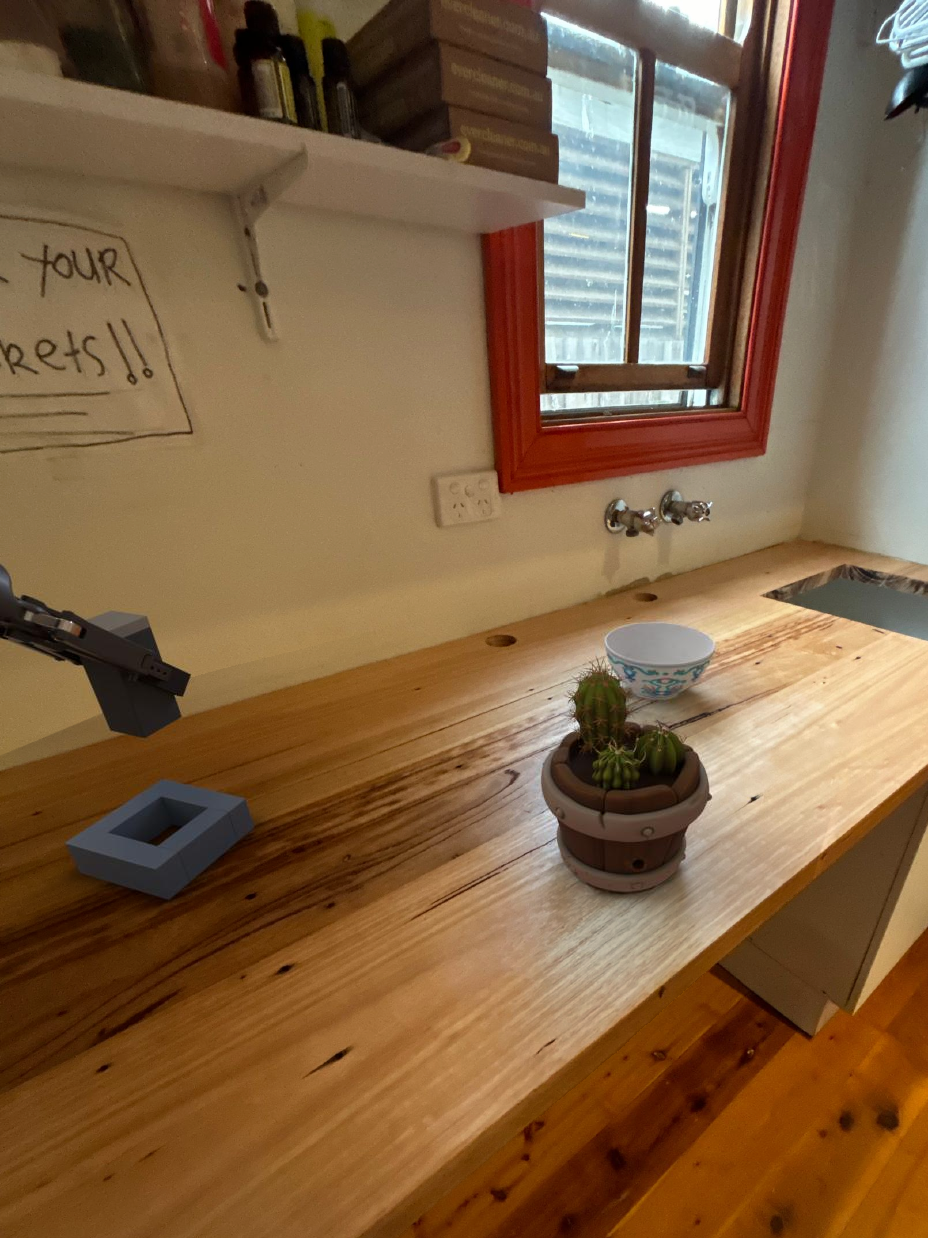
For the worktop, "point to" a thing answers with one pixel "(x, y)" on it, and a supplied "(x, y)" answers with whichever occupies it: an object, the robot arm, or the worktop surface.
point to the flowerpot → (621, 791)
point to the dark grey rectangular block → (123, 700)
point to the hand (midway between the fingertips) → (164, 681)
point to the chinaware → (658, 657)
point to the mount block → (170, 866)
